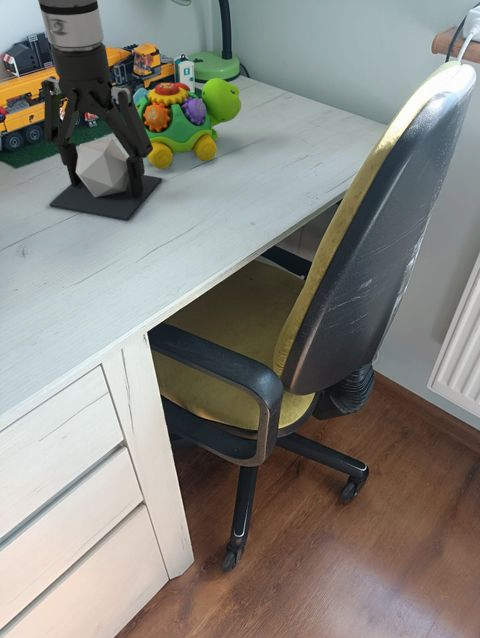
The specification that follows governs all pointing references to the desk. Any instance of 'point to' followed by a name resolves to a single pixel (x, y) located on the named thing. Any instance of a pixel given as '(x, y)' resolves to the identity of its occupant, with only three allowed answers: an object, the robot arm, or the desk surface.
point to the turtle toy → (185, 118)
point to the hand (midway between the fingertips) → (107, 188)
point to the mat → (105, 200)
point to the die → (102, 167)
